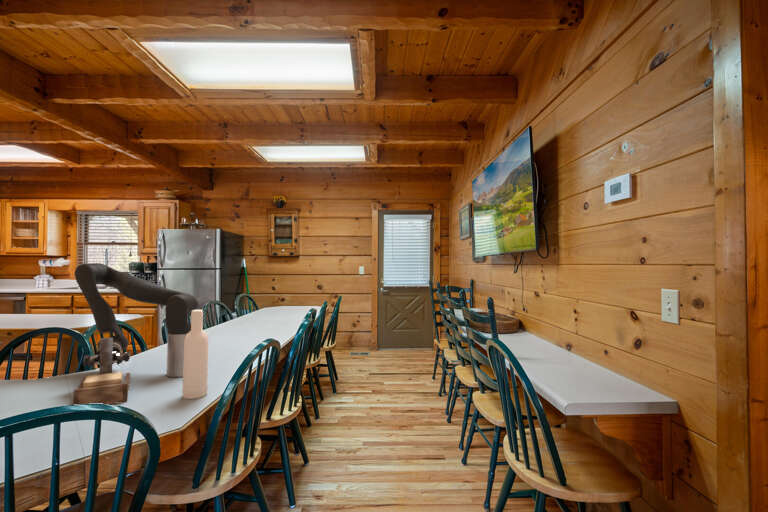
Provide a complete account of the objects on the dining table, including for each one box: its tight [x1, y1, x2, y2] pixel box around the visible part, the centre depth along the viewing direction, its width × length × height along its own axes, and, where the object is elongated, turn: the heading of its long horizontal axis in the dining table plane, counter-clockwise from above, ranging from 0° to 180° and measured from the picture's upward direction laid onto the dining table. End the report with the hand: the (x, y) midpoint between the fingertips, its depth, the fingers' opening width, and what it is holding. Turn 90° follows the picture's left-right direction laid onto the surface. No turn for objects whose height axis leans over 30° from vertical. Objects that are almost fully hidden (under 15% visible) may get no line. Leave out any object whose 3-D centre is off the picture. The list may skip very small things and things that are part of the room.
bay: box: [72, 372, 131, 405], centre depth 131 cm, size 14×20×6 cm
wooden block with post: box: [83, 337, 124, 388], centre depth 130 cm, size 10×13×18 cm
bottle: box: [181, 309, 210, 400], centre depth 133 cm, size 8×8×30 cm
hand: (105, 363), depth 132 cm, fingers open, 7 cm apart
